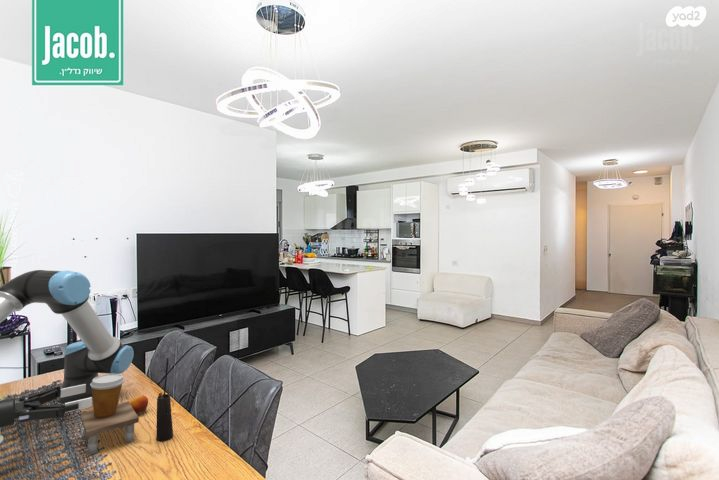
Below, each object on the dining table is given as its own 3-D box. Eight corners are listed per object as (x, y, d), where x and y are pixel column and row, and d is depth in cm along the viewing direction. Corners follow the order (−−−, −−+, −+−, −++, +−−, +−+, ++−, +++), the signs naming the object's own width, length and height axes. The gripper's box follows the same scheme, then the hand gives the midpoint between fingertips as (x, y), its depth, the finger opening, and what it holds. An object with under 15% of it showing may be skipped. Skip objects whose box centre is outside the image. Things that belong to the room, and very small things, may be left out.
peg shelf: (79, 436, 120) (80, 413, 120) (127, 422, 129) (128, 401, 130) (85, 457, 108) (86, 432, 108) (137, 441, 118) (138, 417, 118)
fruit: (140, 416, 131) (132, 397, 132) (125, 425, 133) (116, 405, 134) (157, 407, 139) (148, 388, 140) (142, 415, 141) (134, 396, 142)
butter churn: (145, 434, 122) (148, 354, 122) (175, 427, 128) (178, 350, 128) (148, 447, 115) (151, 362, 115) (180, 438, 120) (183, 357, 121)
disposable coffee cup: (128, 409, 124) (131, 375, 124) (103, 421, 114) (106, 385, 115) (106, 405, 126) (108, 371, 126) (80, 417, 116) (83, 381, 117)
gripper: (-4, 412, 109) (82, 393, 123) (-8, 447, 91) (94, 420, 106) (-3, 388, 109) (83, 372, 124) (-6, 418, 91) (95, 395, 106)
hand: (88, 394), depth 115 cm, fingers open, 13 cm apart
